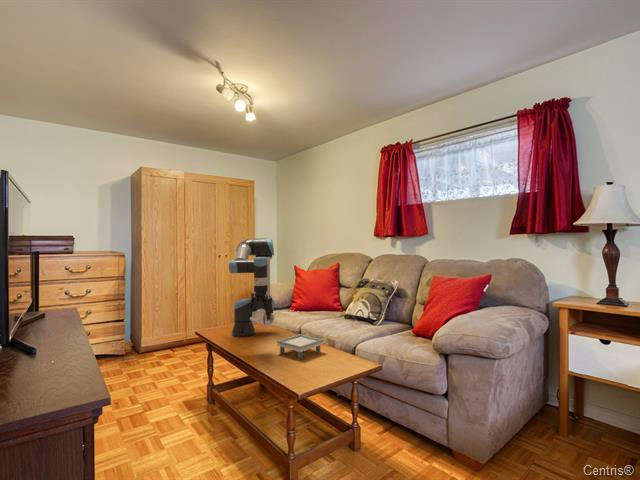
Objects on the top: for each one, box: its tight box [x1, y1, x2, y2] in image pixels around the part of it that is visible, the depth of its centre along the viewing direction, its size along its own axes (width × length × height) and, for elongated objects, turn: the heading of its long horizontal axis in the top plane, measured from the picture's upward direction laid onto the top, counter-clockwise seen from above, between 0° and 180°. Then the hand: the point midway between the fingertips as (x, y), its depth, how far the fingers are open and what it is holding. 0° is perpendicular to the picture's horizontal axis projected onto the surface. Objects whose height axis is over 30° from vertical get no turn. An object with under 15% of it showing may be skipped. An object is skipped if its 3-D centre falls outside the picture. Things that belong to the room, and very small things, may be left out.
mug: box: [250, 309, 275, 327], centre depth 191 cm, size 12×10×8 cm
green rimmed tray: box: [276, 333, 324, 361], centre depth 190 cm, size 18×18×7 cm
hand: (261, 324), depth 191 cm, fingers closed on mug, 11 cm apart
